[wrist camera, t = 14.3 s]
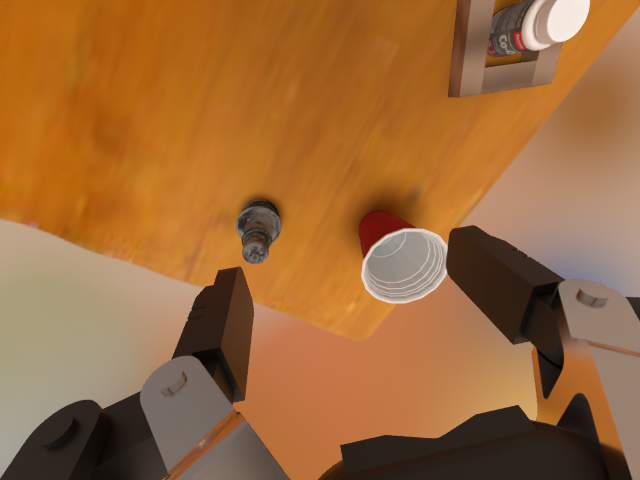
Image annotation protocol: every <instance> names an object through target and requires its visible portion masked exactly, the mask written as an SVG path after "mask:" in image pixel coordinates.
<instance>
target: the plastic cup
mask: <svg viewBox="0 0 640 480" xmlns="http://www.w3.org/2000/svg"><path fill="white" fill-rule="evenodd" d="M359 236H360V240H361V248H362V253H363V258H364V260H363V266H362V274H361V278H362V280H363V283H364V285H365V288H366V290H367V291H368V292H369V293H371V294H372V295H373V296H374V297H375V298H376V299H379V300H382V301H385V302H388V303H408V302H411V301H414V300H417V299H420V298H423V297H424V296H426V295H427V294H429V293H430V292H431V291H433V290H434V289H436V288H437V287H438V285H439V284H440V283H441V282H442V280H443V279H444V278H445V276H446V274H447V270H446V256H447V249H448V246H447V245H446V243H445V242H444V241H443V240H442V239H441V237H440V236H439V235H437V234H435V233H432V232H430V231H428V230H425V229H423V228H416V227H414V226H412V225H411V224H409V223H407V222H405V221H403V220H402V219H400V218H397V217H395V216H393V215H392V214H390V213H387V212H385V211H375V212H372V213H370V214H368V215H367V216H366V217H365V218H363V220H362V222H361V224H360V228H359Z"/></svg>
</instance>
